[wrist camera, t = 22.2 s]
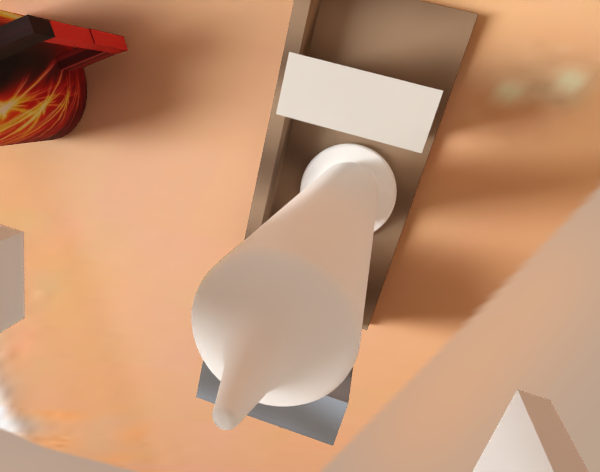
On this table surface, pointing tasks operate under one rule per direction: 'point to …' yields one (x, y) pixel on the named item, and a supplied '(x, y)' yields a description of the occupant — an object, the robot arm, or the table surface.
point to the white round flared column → (295, 289)
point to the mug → (45, 75)
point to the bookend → (358, 102)
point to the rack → (353, 142)
